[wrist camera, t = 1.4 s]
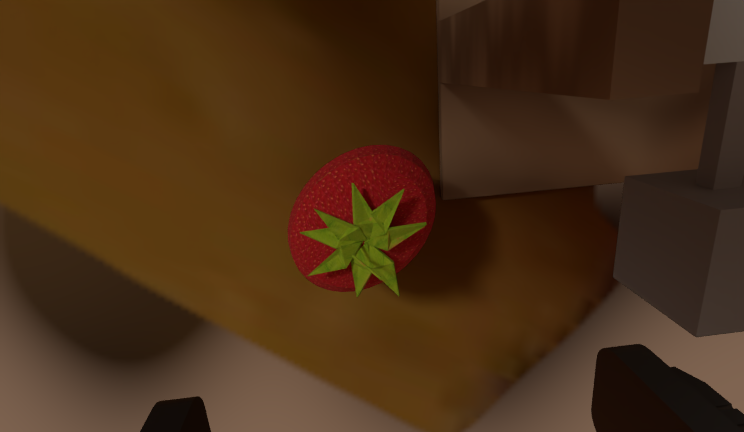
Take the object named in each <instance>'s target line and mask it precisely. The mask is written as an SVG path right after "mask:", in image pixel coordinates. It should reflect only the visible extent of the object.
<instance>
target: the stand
mask: <svg viewBox="0 0 744 432" xmlns="http://www.w3.org/2000/svg"><path fill="white" fill-rule="evenodd" d="M713 3H714V0H436V16H437V60H438V103H439V147H440V191H441V198H442V199H443V200H450V199H460V198H470V197H480V196H491V195H501V194H511V193H521V192H531V191H541V190H551V189H562V188H572V187H582V186H592V185H602V184H612V183H622V182H624V179H625V176H632V175H642V174H653V173H663V172H673V171H683V170H693V169H698V166H699V160H700V154H701V148H702V143H703V137H704V131H705V125H706V120H707V114H708V108H709V102H710V96H711V91H712V85H713V79H714V73H715V67H716V63H715V64H704V58H705V52H706V46H707V39H708V33H709V27H710V21H711V15H712V9H713Z"/></svg>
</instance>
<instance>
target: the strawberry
mask: <svg viewBox="0 0 744 432" xmlns="http://www.w3.org/2000/svg"><path fill="white" fill-rule="evenodd" d="M435 210H436V199H435V192H434V184H433V181H432V178H431V175H430V173H429V171H428V169H427V168H426V166H425V165H424V164H423V162H422V161H421V160H420V159H419V158H417V157H416V156H415V155H414V154H412V153H411V152H409V151H406V150H404V149H402V148H400V147H394V146H389V145H370V146H366V147H361V148H356V149H354V150H351V151H349V152H346V153H344V154H342V155H340V156H338V157H337V158H335V159H333V160H332V161H330V162H328V163H327V164H326V165H325V166H323V167H322V168H321V169H320V170H319V171H318V172H316V173H315V174H314V175H313V177H312V178H311V179H310V180H309V181H308V182H307V184H306V185H305V186H304V187H303V189H302V191H301V192H300V194H299V196H298V197H297V199H296V201H295V204H294V206H293V209H292V211H291V214H290V219H289V225H288V242H289V246H290V250H291V254H292V257H293V259H294V262H295V264H296V265H297V267H298V269H299V271H300V272H301V273H302V274H303V275H304V276H305V277H306V279H307V280H309V281H310V282H312V283H313V284H315V285H317V286H319V287H321V288H324V289H327V290H331V291H339V292H348V291H356V295H357V297H358V296H359V295H360V293H361V291H362V290H363V289H366V288H370V287H372V286H375V285H377V284H380V283H382V282H384V283H385V284H386V285H387V286H388V287H389V288H391V289H392V290H393V291H394V292H395V293H396V294H397V295H398V296H399V295H400V294H399V288H398V283H397V277H396V274H397V273H398V272H399V271H400V270H402V269H403V268H404V267H406V266H407V265H408V263H409V262H410V261H411V260H412V259H413V258H414V257H415V256H416V255H417V254H418V252H419V251H420V249H421V248H422V246H423V245H424V244H425V242H426V240H427V238H428V236H429V233H430V231H431V229H432V225H433V222H434V218H435Z"/></svg>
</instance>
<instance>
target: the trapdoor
mask: <svg viewBox="0 0 744 432" xmlns="http://www.w3.org/2000/svg"><path fill="white" fill-rule="evenodd" d="M715 63H716V67H715V73H714V79H713V85H712V91H711V96H710V102H709V108H708V114H707V120H706V125H705V131H704V137H703V143H702V148H701V154H700V160H699V166H698V169H693V170H683V171H673V172H663V173H653V174H642V175H632V176H625V179H624V187H623V197H622V204H621V213H620V221H619V230H618V238H617V247H616V255H615V264H614V272H613V278H615V279H616V280H617V281H619V282H620V283H622V284H623V285H624V286H626V287H627V288H629V289H630V290H631V291H633V292H634V293H635V294H637V295H638V296H640V297H641V298H643V299H644V300H645V301H646V302H648V303H649V304H651V305H652V306H653V307H655V308H656V309H658V310H659V311H660V312H662V313H663V314H665V315H666V316H668V317H669V318H670V319H671V320H673V321H674V322H675V323H677V324H678V325H680V326H681V327H682V328H684V329H685V330H687V331H688V332H689V333H691V334H692V335H693V336H695V337H702V336H710V335H717V334H726V333H734V332H742V331H744V0H714V3H713V9H712V15H711V21H710V27H709V33H708V39H707V46H706V52H705V58H704V64H715Z"/></svg>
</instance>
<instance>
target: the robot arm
mask: <svg viewBox="0 0 744 432" xmlns="http://www.w3.org/2000/svg"><path fill="white" fill-rule="evenodd" d="M591 412H592V419H593V423H594V426H595V429H596V432H744V414H743V413H742V412H740V411H739V410H738V409H733V408H732V404H731V403H729V402H728V401H727V400H725V398H723V397H722V396H721V395H719V393H717V392H716V391H715V390H713V389H712V388H711V387H710V386H709V385H708V384H706V383H705V382H703V381H701V380H699V379H697V378H695V377H693V376H691V375H689V374H687V373H686V372H684V371H682V370H680V369H678V368H676V367H669V366H668V365H667V364H665V363H664V362H663V361H662V360H661V359H660V358H659V357H657V356H656V355H655V354H654V353H653V352H652V351H651V350H649V349H648V348H647V347H645V346H643V345H640V344H634V345H626V346H618V347H610V348H603V349H601V350H600V351H599V352H598V355H597V360H596V369H595V379H594V388H593V398H592V408H591ZM140 432H211V430H210V426H209V422H208V418H207V414H206V410H205V406H204V402H203V400H202V399H201V398H200V397H190V398H182V399H174V400H165V401H159V402H157V403H156V404H155V406H154V407H153V409H152V410H151V412H150V414H149V416H148V418H147V420H146V422H145V424H144V426H143V427H142V429H141V431H140Z"/></svg>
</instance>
